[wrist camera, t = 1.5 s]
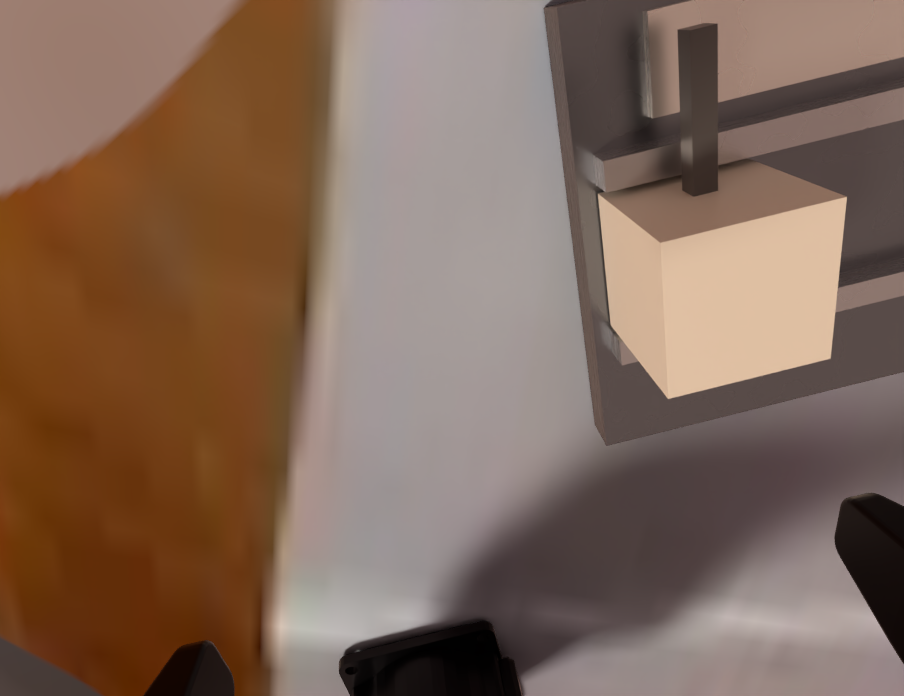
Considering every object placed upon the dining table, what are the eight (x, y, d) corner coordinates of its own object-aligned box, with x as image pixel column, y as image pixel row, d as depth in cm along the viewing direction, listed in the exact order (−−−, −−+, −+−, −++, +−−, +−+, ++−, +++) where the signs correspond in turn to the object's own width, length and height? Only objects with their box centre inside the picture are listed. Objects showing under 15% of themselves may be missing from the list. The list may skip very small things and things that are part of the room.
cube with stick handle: (610, 325, 18) (668, 398, 15) (583, 44, 15) (650, 56, 11) (742, 292, 18) (830, 358, 15) (748, 4, 15) (866, 3, 11)
